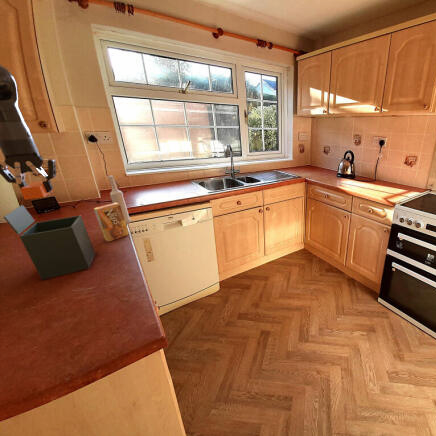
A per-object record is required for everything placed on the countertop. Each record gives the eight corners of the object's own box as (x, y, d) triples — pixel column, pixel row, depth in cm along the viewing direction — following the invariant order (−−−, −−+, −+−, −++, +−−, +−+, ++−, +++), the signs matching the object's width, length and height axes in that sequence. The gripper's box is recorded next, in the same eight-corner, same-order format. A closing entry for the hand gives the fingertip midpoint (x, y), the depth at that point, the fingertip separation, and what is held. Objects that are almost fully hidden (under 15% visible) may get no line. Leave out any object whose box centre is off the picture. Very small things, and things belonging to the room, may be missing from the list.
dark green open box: (41, 279, 83) (19, 236, 76) (53, 262, 93) (35, 222, 87) (89, 268, 88) (71, 227, 82) (95, 252, 99) (80, 215, 93)
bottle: (119, 225, 124) (103, 177, 115) (119, 222, 128) (104, 175, 119) (131, 223, 127) (116, 176, 117) (131, 220, 131) (117, 174, 121)
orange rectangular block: (24, 199, 74) (19, 188, 73) (36, 192, 82) (31, 182, 80) (44, 197, 76) (39, 186, 75) (53, 190, 84) (49, 180, 82)
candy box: (125, 232, 116) (116, 202, 110) (129, 234, 114) (120, 203, 108) (104, 239, 110) (92, 208, 104) (108, 242, 107) (96, 209, 102)
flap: (19, 234, 76) (17, 234, 76) (34, 220, 87) (33, 221, 87) (4, 216, 73) (3, 217, 73) (22, 204, 84) (21, 205, 84)
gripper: (50, 136, 78) (70, 187, 85) (-13, 138, 72) (14, 194, 79) (42, 137, 72) (64, 192, 79) (-28, 140, 66) (2, 200, 73)
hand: (39, 193), depth 79 cm, fingers closed on orange rectangular block, 4 cm apart
